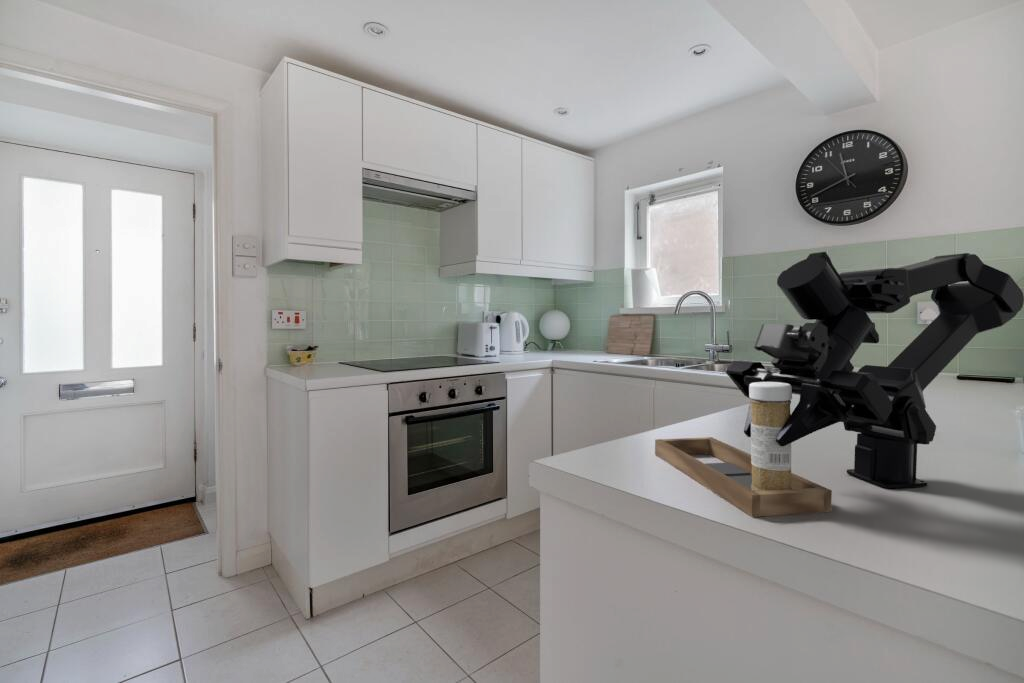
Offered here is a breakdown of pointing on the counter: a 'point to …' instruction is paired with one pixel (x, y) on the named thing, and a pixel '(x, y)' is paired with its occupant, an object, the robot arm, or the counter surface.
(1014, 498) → the counter surface
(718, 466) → the mats
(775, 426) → the spice jar
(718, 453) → the box
